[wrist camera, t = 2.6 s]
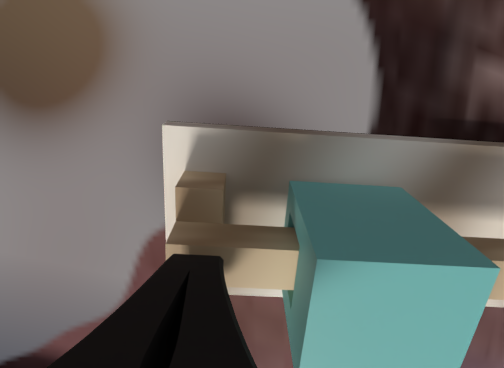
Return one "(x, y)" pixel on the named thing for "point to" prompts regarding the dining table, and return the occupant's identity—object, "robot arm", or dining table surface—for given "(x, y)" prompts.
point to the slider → (380, 281)
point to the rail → (314, 170)
